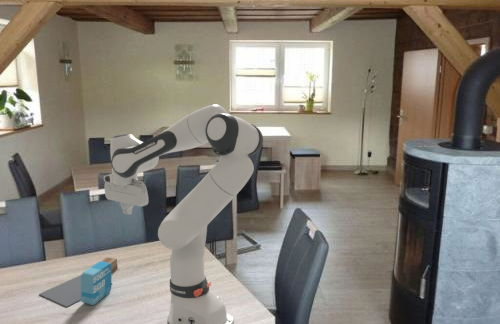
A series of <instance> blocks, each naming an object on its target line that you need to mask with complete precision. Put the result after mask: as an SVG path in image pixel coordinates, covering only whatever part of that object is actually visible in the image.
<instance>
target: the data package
mask: <svg viewBox="0 0 500 324" xmlns="http://www.w3.org/2000/svg"><path fill="white" fill-rule="evenodd" d="M80 275H81V303H82V304H83V303H84V304H88V305H91V306H94V305H96V304H97V303H98V302H99V301H101V300H102V299H103V298H104V297H106V296H107V295H108V294H109V293H110V292H111V290H112V285H111V283H112V275H113V274H112V265H111V264H110V263H106V262H102V260H99V261H98V262H97V263H95V264H94V265H92V266H90V267H89V268H87V269H85V271H83V272H82V273H81V274H80Z"/></svg>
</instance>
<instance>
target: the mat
mask: <svg viewBox="0 0 500 324" xmlns="http://www.w3.org/2000/svg"><path fill="white" fill-rule="evenodd" d="M81 275H82V274H80V275H77V276H76V277H73V278H71V279H69V280H67V281H65V282H63V283H62V282H61V284H58V285H56V286H54V287H52V288H49V289H47V290H44V291H42V292H41V293H39V294H38V295H39V296H41V297H43V298H45V299H48V300H50V301H52V302H54V303H56V304H58V305H60V306H63V307H65V308H69V307H71V306H72V305H74V304H77V303H78V302H80V301H81ZM112 285H113V283H112V282H111V286H112ZM81 302H82V301H81Z"/></svg>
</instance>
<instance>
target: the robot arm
mask: <svg viewBox="0 0 500 324" xmlns="http://www.w3.org/2000/svg"><path fill="white" fill-rule="evenodd" d="M208 143H209V144H210V146H211V148H212V151H213V153H214V154H215V155H217V156H220V157H219V159H218V162H217V163H216V164H215V165H214V166H213V167H212V168H211V169H210V170H209V171H208V173H207V174H205V176H204V177H202V179H201V180H200V181H199V182H198V183H197V185H196V186H195V187H194V188H192V190H191V191H190V192H189V193H188V194H187V195H186V196H184V198H183V199H181V200H180V201H179V202H178V204H176V206H175V207H174V208H173V209H171V211H170V212H169V213H168V214H167V215H165V217H164V218H163V220H162V221H161V223H160V225H159V227H158V229H157V230H158V231H157V236H158V239H159V241H160V243H161V244H162V246H164V247H165V248H166V249H168V250H171V253H170V256H169V269H170V279H169V291H170V294H171V295H170V296H171V297H170V307H169V314H168V317H167V321H168V324H234V321H235V319H234V316H232V315H231V314H229V313H227V308H226V306H225V303H224V302H223V301H222V300H221V298H220V297H219V296H217V295H216V294H215V293H214V292H213V291H212V290H211V289H210V287H211V286H212V281H210V282H208V280H207V278H206V277H207V276H206V275H205V251H206V250H205V247H206V242H207V234H208V233H207V232H208V225H209V224H210V223H211V222H212V221H213V220H214V219H215V218H216V217H217V215H219V214H220V212H221V211H223V209H225V207H226V206H228V204H229V203H230V202H231V201H233V199H235V197H236V196H237V195H238V194H239V192H241V191H242V189H243V188H244V187H245V186H246V184H247V183H248V182H249V180H250V178H251V177H252V175H253V173H254V171H255V170H254V167H255V166H254V164H253V161H252V160H251V158H250V157H249V156H253V155H256V154H257V153H259V152H260V150H261V148H262V146H263V144H264V136H263V133H262V132H261V130H260V129H259V128H258V126H256V125H254V124H253V123H250V122H248V121H247V120H245V119H244V118H241V117H239V116H235V115H232V114H229V113H228V111H227V110H226V109H225V108H224V107H223V106H222V105H219V104H215V103H214V104H209V105H206V106H204V107H201V108H199V109H196V110H194V111H192V112H191V113H188V114H186V115H184V117H183V118H180V119H179V120H178V121H176V122H175V123H174V124H172V125H171V126H169V127H168V128H166V129H165V130H163V131H162V132H160V133H158V134H156V135H154V136H153V137H151V138H149V139H147V140H145V141H141V140H140V139H138V138H136V137H135V136H134V134H133V133H132V134H131V133H125V134H120V135H119V134H118V135H115V136H113V137H112V138H111V140H110V149H109V151H110V161H111V163H110V164H111V173H109V174H107V175H104V176H103V182H104V187H103V188H104V195H105V196H104V197H105V198H106V199H107V200H108V201H113V202H118V203H119V204H120V206H121V209H122V213H123V214H125V215H128V216H129V215H132V214H133V208H134V207H135V206H136V207H146V206H147V205H148V204H149V194H148V189H147V186H146V184H145V182H143V180H140V179H139V180H138V174H140V173H144V172H147V171H150V170H153V169H154V168H156V167H157V166H158V164H159V162H160V157H161V156H163V155H167V154H171V153H176V152H182V151H188V150H192V149H195V148H198V147H201V146H204V145H206V144H208Z"/></svg>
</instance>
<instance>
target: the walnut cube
mask: <svg viewBox="0 0 500 324" xmlns="http://www.w3.org/2000/svg"><path fill="white" fill-rule="evenodd" d="M101 261H102V262H106V263H110V264H111V265H112V275H113V274H114V273H115V272H116V271H118V270H119V268H118V267H119V266H118V258H116V257H115V258H114V257H104V258H103V260H101Z"/></svg>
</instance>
